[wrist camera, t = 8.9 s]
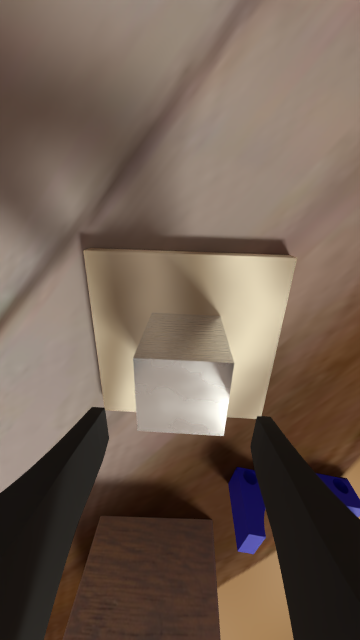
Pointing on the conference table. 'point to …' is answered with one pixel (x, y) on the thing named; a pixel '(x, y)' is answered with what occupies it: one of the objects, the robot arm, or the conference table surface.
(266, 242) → the conference table surface
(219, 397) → the brushed grey cube
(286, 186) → the conference table surface
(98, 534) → the tissue box cover
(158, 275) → the board
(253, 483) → the cable clip
